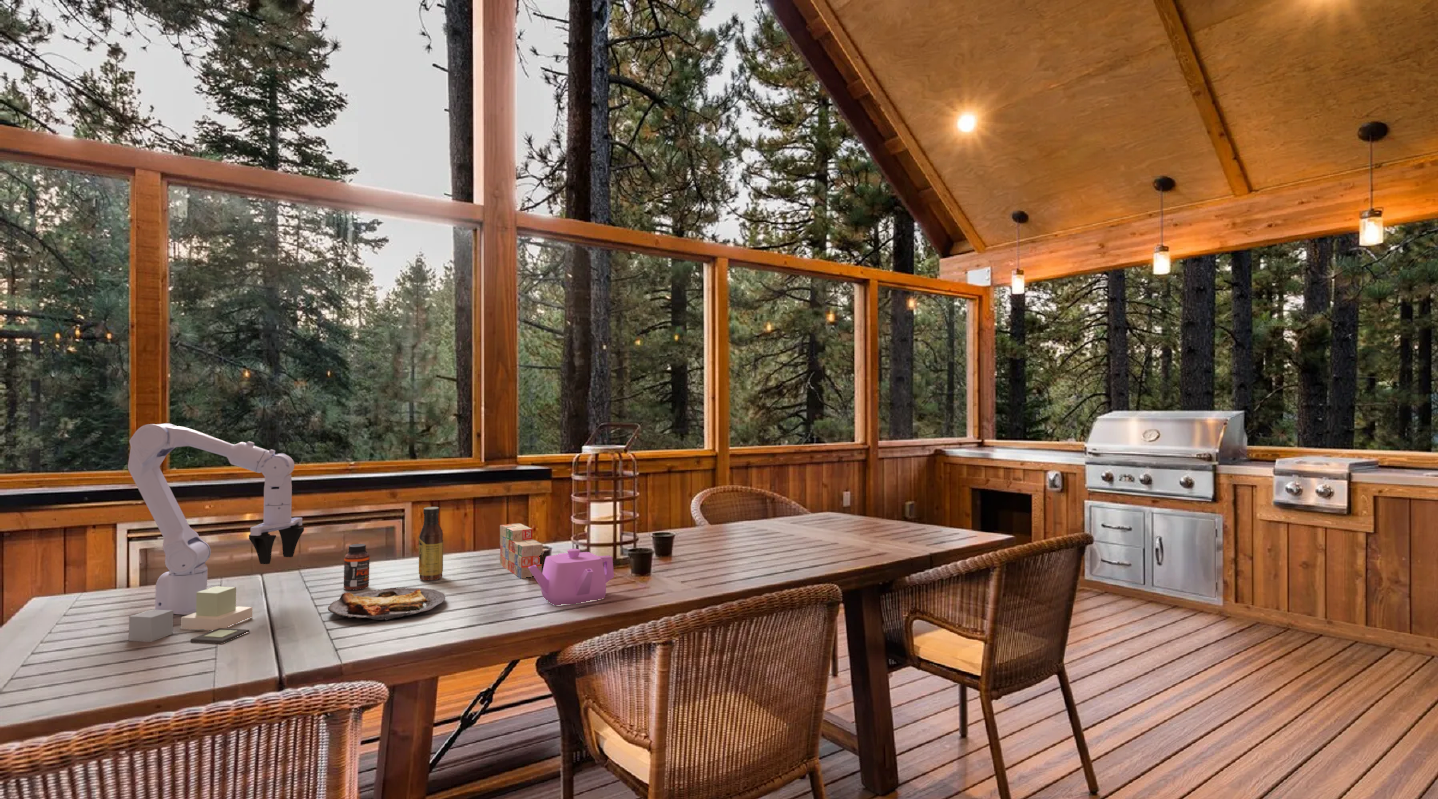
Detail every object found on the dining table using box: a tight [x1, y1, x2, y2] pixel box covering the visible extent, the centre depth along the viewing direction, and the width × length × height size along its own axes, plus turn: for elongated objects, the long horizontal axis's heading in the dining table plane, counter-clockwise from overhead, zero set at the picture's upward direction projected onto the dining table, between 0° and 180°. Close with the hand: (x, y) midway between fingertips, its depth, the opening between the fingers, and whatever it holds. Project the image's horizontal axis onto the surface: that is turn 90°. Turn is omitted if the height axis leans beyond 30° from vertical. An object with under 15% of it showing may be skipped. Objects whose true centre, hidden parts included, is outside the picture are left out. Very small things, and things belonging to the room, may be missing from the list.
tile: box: [190, 628, 250, 644], centre depth 145 cm, size 7×7×1 cm
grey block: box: [128, 608, 174, 643], centre depth 144 cm, size 5×5×5 cm
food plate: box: [327, 586, 446, 621], centre depth 166 cm, size 25×23×4 cm
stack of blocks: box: [499, 523, 544, 579], centre depth 206 cm, size 21×6×12 cm, turn 33°
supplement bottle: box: [343, 543, 371, 591], centre depth 184 cm, size 6×6×11 cm
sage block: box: [196, 585, 237, 617], centre depth 153 cm, size 5×5×5 cm
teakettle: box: [528, 548, 615, 605], centre depth 177 cm, size 17×17×12 cm
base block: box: [180, 605, 253, 631], centre depth 154 cm, size 9×9×3 cm
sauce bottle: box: [418, 506, 444, 582], centre depth 194 cm, size 6×6×20 cm
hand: (276, 560), depth 169 cm, fingers open, 7 cm apart
